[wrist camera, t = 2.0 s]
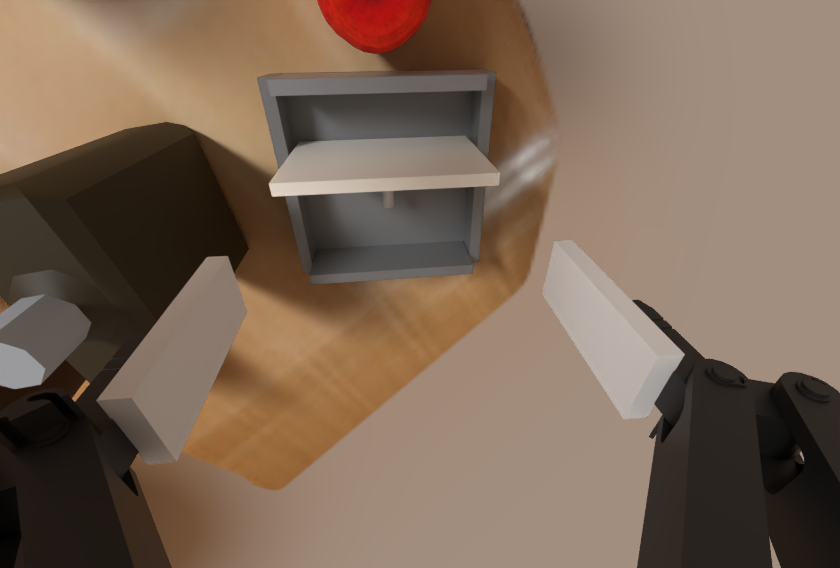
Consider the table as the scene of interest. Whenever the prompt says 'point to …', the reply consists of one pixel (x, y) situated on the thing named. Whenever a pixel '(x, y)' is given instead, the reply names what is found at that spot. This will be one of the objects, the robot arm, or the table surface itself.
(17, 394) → the olive oil
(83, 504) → the robot arm
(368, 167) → the plate
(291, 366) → the table surface
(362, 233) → the grey tray
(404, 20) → the apple
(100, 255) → the bottle
